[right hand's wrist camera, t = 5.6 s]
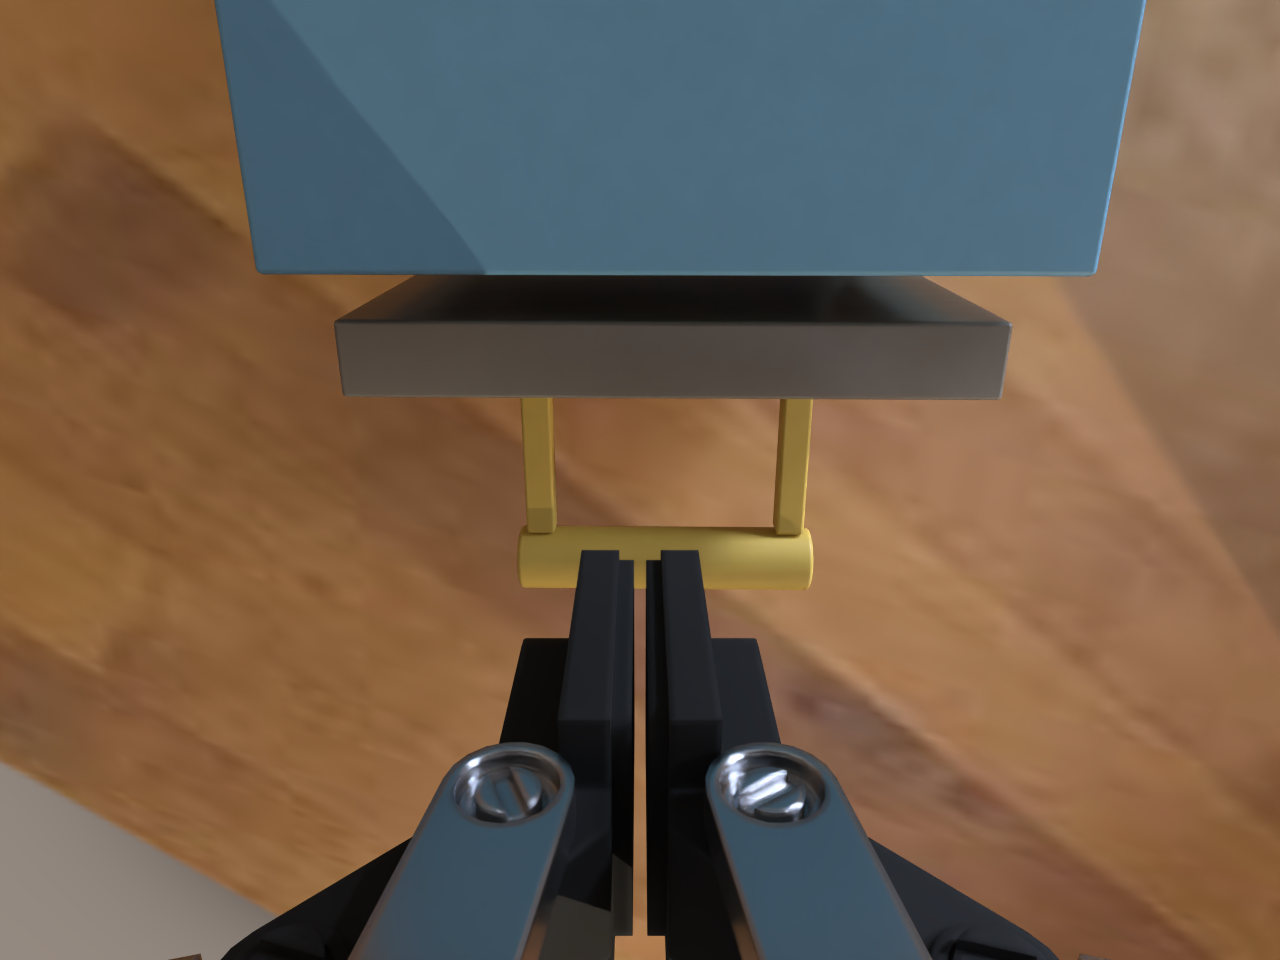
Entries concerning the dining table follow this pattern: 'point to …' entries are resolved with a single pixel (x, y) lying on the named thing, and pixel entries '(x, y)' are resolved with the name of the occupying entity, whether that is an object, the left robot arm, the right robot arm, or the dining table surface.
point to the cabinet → (678, 135)
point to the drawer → (672, 379)
